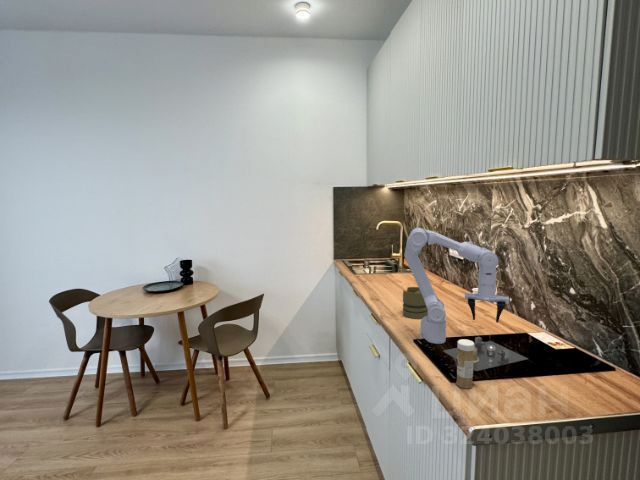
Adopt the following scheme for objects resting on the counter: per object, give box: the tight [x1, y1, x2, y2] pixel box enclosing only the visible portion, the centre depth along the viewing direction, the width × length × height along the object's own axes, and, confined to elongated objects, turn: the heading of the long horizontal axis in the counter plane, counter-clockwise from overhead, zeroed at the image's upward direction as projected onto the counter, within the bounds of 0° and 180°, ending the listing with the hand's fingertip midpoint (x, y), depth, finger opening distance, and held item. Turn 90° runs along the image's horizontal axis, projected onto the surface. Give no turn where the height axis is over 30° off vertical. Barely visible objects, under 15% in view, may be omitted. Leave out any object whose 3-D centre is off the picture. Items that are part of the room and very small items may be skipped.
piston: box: [402, 286, 428, 320], centre depth 169 cm, size 11×12×11 cm
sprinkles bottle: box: [456, 338, 475, 389], centre depth 107 cm, size 5×5×14 cm
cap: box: [473, 346, 477, 361], centre depth 123 cm, size 9×6×4 cm, turn 154°
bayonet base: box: [442, 336, 529, 372], centre depth 125 cm, size 16×22×4 cm
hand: (485, 320), depth 133 cm, fingers open, 7 cm apart
